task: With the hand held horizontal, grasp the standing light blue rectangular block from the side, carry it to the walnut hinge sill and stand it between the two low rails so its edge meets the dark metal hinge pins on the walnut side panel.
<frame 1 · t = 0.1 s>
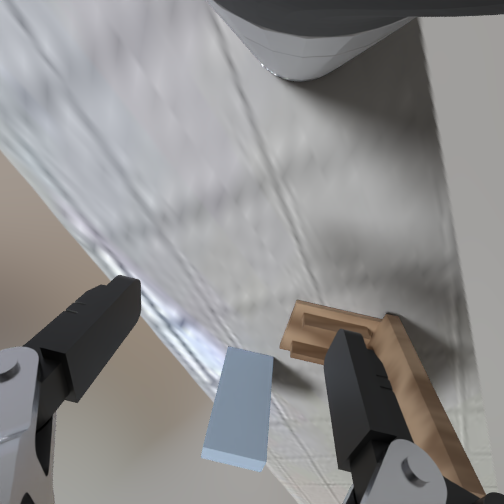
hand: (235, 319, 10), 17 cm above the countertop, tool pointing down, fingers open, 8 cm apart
hinge sill: (325, 332, 34), on the countertop
light blue rectangular block: (249, 357, 39), on the countertop
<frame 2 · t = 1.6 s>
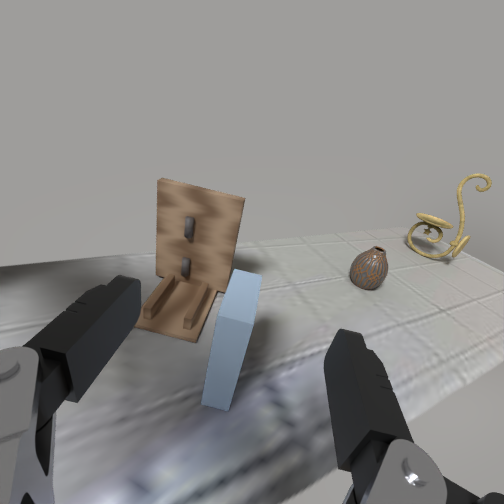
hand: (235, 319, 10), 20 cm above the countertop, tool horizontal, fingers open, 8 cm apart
wall sconce: (421, 255, 76), on the countertop
hinge sill: (178, 307, 38), on the countertop
vase: (361, 284, 55), on the countertop
light blue rectangular block: (222, 377, 30), on the countertop
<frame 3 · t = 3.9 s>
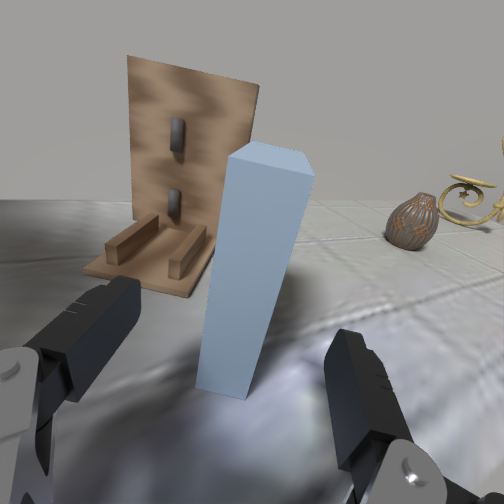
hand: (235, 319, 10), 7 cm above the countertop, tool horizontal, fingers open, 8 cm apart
wall sconce: (456, 224, 65), on the countertop
hinge sill: (162, 256, 26), on the countertop
vase: (400, 245, 43), on the countertop
light blue rectangular block: (231, 346, 18), on the countertop
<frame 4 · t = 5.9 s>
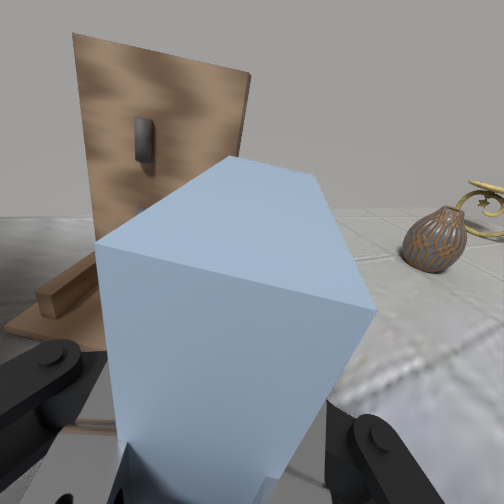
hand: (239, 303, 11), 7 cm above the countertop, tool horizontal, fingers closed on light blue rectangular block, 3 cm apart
wall sconce: (475, 235, 59), on the countertop
hinge sill: (126, 296, 20), on the countertop
vase: (418, 266, 37), on the countertop
light blue rectangular block: (203, 457, 12), on the countertop, touching gripper
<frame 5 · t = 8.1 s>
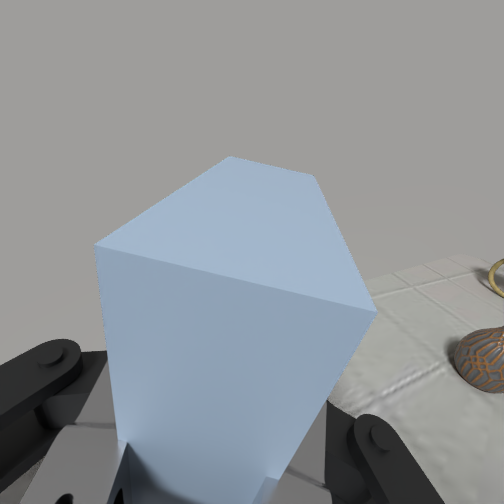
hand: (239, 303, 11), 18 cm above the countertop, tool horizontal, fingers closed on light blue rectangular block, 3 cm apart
vase: (472, 377, 34), on the countertop
light blue rectangular block: (203, 458, 12), point 11 cm above the countertop, touching gripper
when the fingers open (9 cm above the countertop, at t = 10.5 s): light blue rectangular block drops 1 cm, resting on hinge sill.
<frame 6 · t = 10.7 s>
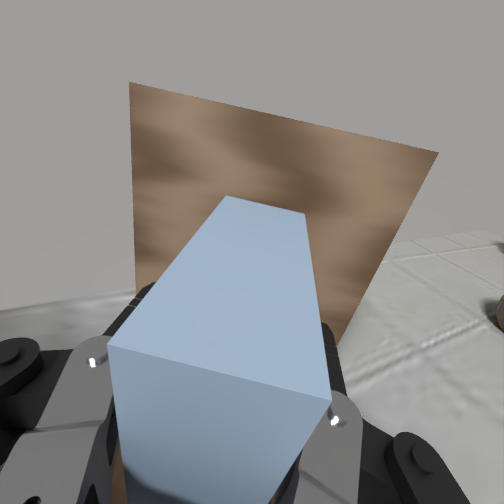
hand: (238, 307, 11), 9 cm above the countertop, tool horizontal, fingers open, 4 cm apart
hinge sill: (198, 477, 13), on the countertop
light blue rectangular block: (202, 469, 13), point 1 cm above the countertop, touching hinge sill
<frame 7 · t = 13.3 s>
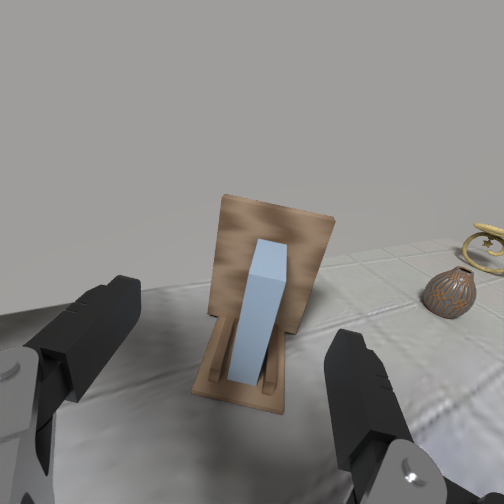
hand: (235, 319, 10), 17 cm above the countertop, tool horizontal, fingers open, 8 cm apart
wall sconce: (481, 270, 67), on the countertop
hinge sill: (244, 359, 29), on the countertop
vase: (437, 311, 46), on the countertop
light blue rectangular block: (246, 355, 29), point 1 cm above the countertop, touching hinge sill
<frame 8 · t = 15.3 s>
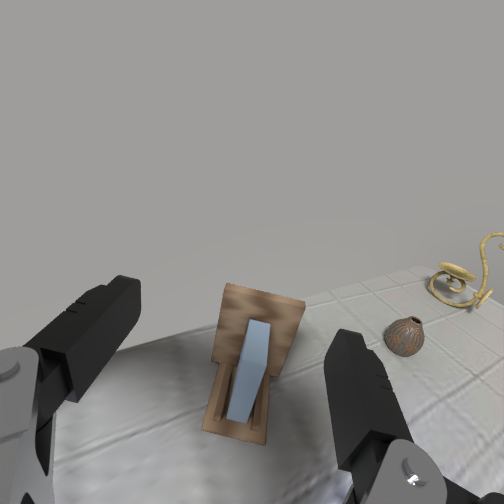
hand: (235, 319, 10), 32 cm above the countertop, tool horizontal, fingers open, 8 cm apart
wall sconce: (444, 303, 78), on the countertop
hinge sill: (238, 400, 39), on the countertop
vase: (396, 348, 57), on the countertop
light blue rectangular block: (240, 397, 39), point 1 cm above the countertop, touching hinge sill
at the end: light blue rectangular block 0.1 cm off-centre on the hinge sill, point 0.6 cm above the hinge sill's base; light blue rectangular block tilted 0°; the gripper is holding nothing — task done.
